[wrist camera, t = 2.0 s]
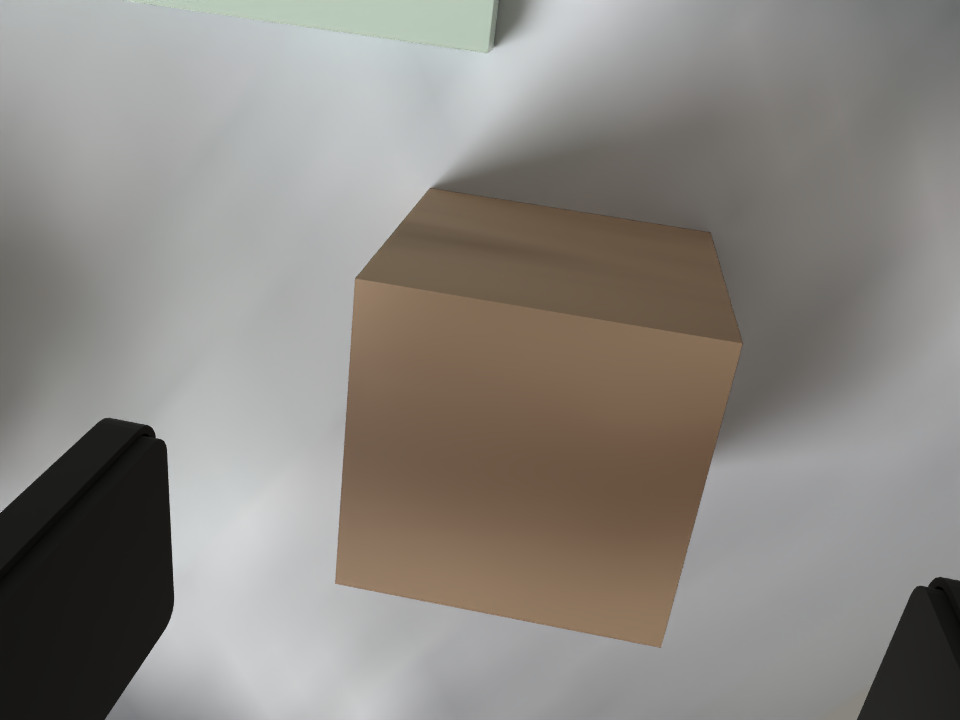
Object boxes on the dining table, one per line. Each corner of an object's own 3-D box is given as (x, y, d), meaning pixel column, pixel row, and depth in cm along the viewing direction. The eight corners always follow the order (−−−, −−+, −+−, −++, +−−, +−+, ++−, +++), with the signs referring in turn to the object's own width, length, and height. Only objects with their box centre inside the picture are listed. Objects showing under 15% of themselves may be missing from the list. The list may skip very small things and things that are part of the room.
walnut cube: (652, 472, 22) (660, 647, 16) (406, 428, 22) (335, 583, 17) (710, 231, 19) (742, 343, 14) (430, 187, 20) (355, 278, 14)
